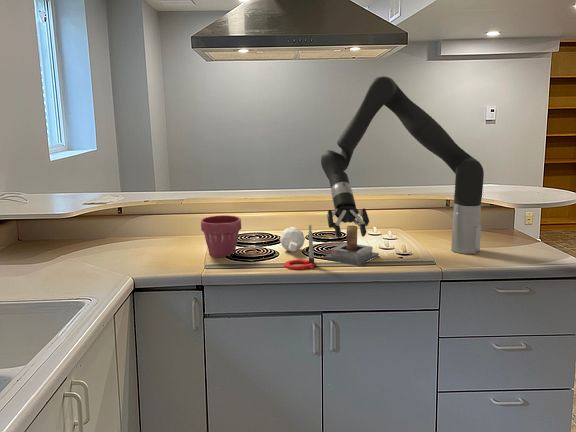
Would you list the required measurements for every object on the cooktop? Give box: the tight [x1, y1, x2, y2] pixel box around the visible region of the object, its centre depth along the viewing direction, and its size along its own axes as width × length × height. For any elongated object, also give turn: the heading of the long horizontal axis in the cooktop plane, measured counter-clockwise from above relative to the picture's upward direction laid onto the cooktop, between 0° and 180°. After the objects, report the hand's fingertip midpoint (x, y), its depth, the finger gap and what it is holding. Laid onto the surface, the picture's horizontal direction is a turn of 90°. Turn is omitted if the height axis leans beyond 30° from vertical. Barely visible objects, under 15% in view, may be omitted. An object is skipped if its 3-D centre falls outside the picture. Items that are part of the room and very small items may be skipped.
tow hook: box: [283, 224, 315, 270], centre depth 186 cm, size 9×14×10 cm
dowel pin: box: [346, 225, 358, 251], centre depth 195 cm, size 4×4×11 cm
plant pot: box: [200, 214, 242, 258], centre depth 201 cm, size 14×14×13 cm
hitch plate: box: [323, 242, 380, 266], centre depth 196 cm, size 14×14×4 cm
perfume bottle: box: [279, 226, 306, 253], centre depth 204 cm, size 9×9×12 cm
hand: (351, 236), depth 195 cm, fingers open, 8 cm apart
